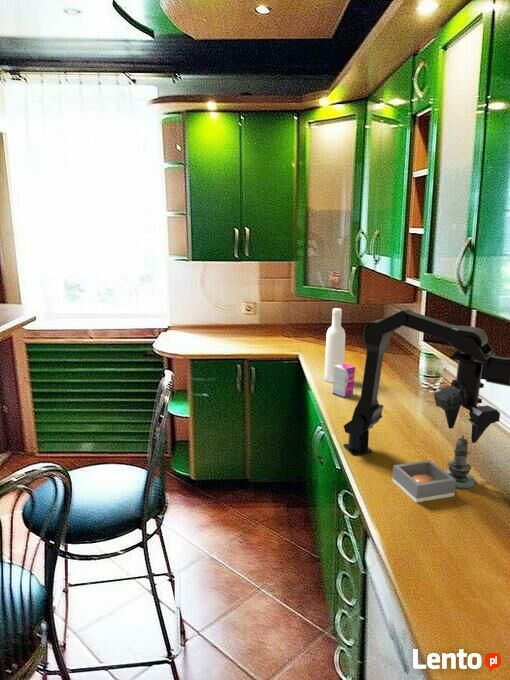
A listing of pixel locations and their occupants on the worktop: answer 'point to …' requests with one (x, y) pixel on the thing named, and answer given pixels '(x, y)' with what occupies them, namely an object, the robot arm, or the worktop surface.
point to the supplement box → (343, 380)
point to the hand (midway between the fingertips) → (461, 435)
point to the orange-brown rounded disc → (422, 478)
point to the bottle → (334, 345)
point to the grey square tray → (427, 490)
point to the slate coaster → (465, 485)
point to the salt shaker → (460, 462)
